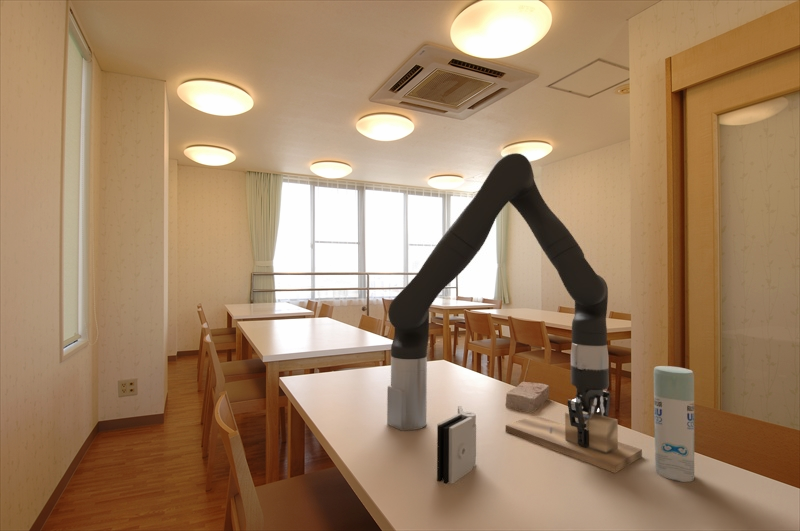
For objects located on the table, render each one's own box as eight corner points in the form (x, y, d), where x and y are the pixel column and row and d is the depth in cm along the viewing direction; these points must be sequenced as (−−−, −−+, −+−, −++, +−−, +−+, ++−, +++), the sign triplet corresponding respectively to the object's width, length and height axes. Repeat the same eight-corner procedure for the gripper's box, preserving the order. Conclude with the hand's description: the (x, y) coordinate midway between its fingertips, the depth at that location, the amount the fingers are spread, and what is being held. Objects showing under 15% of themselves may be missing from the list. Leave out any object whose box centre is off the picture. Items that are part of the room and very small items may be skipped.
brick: (533, 414, 113) (533, 396, 113) (504, 408, 117) (504, 391, 118) (549, 399, 126) (549, 384, 126) (523, 395, 131) (523, 380, 131)
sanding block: (606, 454, 83) (605, 424, 83) (565, 439, 90) (565, 412, 90) (617, 448, 86) (617, 419, 86) (577, 434, 93) (577, 408, 93)
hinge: (457, 452, 87) (458, 405, 87) (482, 457, 85) (482, 409, 85) (433, 481, 75) (434, 426, 75) (461, 488, 72) (462, 431, 73)
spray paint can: (696, 485, 74) (695, 375, 74) (654, 476, 77) (653, 370, 78) (693, 471, 79) (692, 368, 80) (654, 463, 83) (653, 364, 83)
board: (615, 473, 78) (614, 464, 78) (505, 431, 99) (505, 424, 99) (642, 456, 85) (641, 449, 86) (534, 421, 106) (534, 415, 106)
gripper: (589, 357, 96) (590, 430, 95) (555, 365, 87) (555, 445, 87) (622, 363, 90) (623, 440, 89) (589, 372, 81) (589, 457, 81)
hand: (590, 442), depth 88 cm, fingers closed on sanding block, 5 cm apart
